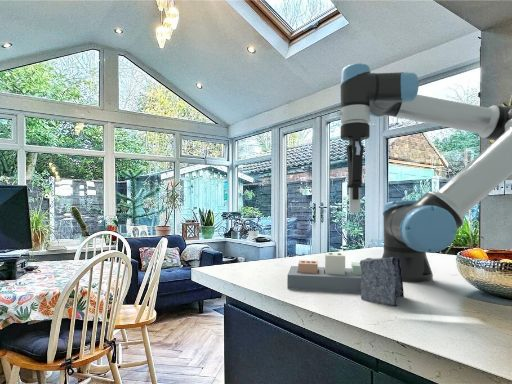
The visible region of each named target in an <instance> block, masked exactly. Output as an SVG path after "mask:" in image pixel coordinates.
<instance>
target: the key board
mask: <svg viewBox="0 0 512 384" xmlns="http://www.w3.org/2000/svg"><path fill="white" fill-rule="evenodd" d="M286 275H287V279H286V281H287V283H286V284H287V290H301V291H303V290H304V291H320V292H321V291H323V292H325V291H326V292H338V293H339V292H341V293H342V292H343V293H359V294H360V293H362V290H361V275H352V267H351V268H349V267H347V268H346V267H345V275H340V274H325V266H324V267H322V266H318V274H317V273H298V265H291V266H290V268H289V270H288V273H287V274H286Z"/></svg>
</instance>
